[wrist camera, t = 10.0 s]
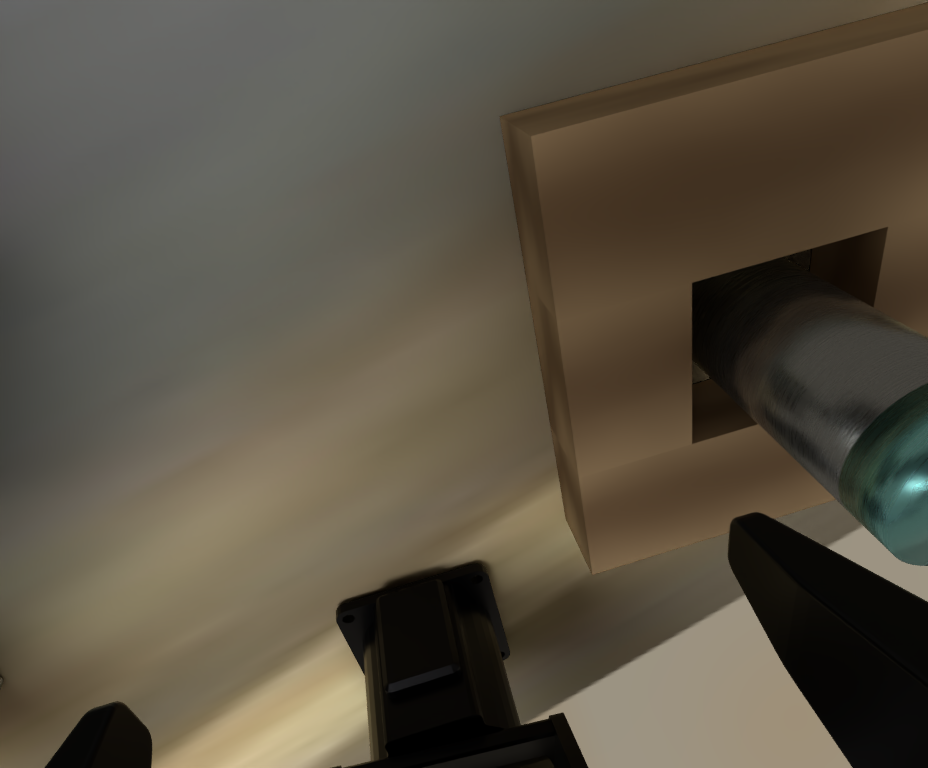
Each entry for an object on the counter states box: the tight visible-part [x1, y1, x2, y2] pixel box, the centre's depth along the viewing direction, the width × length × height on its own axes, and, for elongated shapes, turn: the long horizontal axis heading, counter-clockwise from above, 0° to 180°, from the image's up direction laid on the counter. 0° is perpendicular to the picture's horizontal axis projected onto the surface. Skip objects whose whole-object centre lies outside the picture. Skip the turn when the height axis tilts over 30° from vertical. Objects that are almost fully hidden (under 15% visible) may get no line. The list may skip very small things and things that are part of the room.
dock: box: [500, 3, 928, 575], centre depth 20 cm, size 16×14×3 cm
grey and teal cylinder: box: [692, 257, 928, 566], centre depth 18 cm, size 4×4×10 cm
